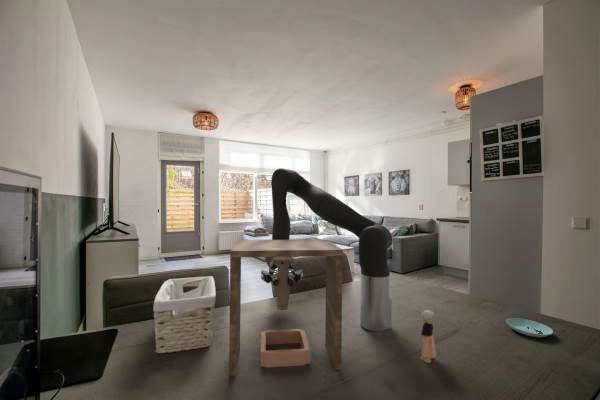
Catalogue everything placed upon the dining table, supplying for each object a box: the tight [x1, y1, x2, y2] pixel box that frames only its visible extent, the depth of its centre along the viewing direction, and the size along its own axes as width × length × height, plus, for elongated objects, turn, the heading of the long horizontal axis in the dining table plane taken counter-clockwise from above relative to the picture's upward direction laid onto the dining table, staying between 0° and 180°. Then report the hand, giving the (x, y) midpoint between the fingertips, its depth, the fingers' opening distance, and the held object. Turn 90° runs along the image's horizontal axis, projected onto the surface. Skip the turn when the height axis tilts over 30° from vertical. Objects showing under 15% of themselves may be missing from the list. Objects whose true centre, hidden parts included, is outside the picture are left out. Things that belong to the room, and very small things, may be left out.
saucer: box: [505, 317, 554, 338], centre depth 92 cm, size 12×12×2 cm
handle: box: [272, 257, 295, 311], centre depth 85 cm, size 5×6×15 cm
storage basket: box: [152, 275, 217, 354], centre depth 88 cm, size 24×16×15 cm
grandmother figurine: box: [419, 309, 437, 364], centre depth 76 cm, size 8×4×13 cm, turn 148°
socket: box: [260, 328, 311, 368], centre depth 78 cm, size 12×12×4 cm
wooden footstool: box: [228, 239, 343, 377], centre depth 78 cm, size 27×18×30 cm, turn 97°
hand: (283, 283), depth 82 cm, fingers closed on handle, 3 cm apart
